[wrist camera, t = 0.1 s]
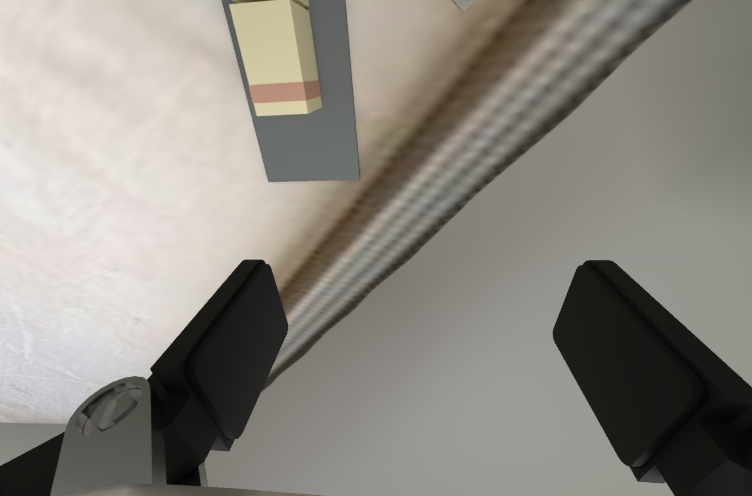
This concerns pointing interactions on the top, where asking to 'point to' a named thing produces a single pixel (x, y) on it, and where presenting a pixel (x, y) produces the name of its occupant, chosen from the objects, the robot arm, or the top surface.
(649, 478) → the robot arm
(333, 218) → the top surface
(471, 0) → the supplement box
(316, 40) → the mat
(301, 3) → the block
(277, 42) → the stub
